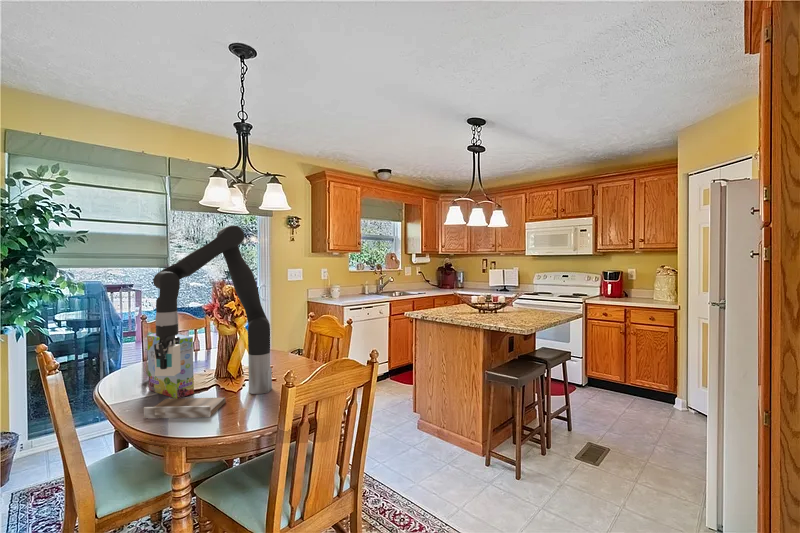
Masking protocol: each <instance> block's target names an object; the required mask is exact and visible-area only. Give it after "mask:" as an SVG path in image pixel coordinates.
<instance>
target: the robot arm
mask: <svg viewBox="0 0 800 533" xmlns="http://www.w3.org/2000/svg"><path fill="white" fill-rule="evenodd" d="M244 239H245V232H244V231H243V229H242V228H241V227H240V226H238V225H235V224H234V225H233V224H232V225H226V226H225V227H222V228H221V229H219V231H217V233H216V237H215V238H214V239H213V240H211V241H209V242H208V243H207V244H205V245H203V246H201V247H200V248H197V249H196V250H194V251H192V252H190V253H189V254H187V255H185V256H184V257H183V258H180V260H178V261H177V262H176V263H172V265H169V266H167V267H166V268H164V269H162V270H160V271H158V272H157V273H156V274H155V275H154V277H153V279H152V284H153V285H154V287H156V288H157V289H159V296H158V297H157V298H156V300H155V301H156V302H155V307H156V308H155V311H156V312H155V334H156V336H157V337H159V338H160V339H159V343H158V344H154V350H155V356H156V359H160V369H167V353H168V352H169V347H170V346H171V345H175V344H179V340H180V337H175V335H177V334H179V315H178V313H179V312H178V297H179V292H180V288H181V287H180V286H181V280H182V279H183V278H187V277H190V276H192V275H193V274H195V273H197V272H198V271H199V270H200V269H201V268H203V267H204V266H205V265H206V266H207V264H208V263H210V262H211V261H212V260H214V259H215V258H216V257H218V256H219V255H221V254H222V255H223V257H224V260H225V262H226V265H227V269H228V272H229V275H230V278H231V282H232V285H233V288H234V291H235V293H236V295H237V297H238V300H239V302H240V304H241V305H242V306H243V308H244V312H245V316H246V320H247V323H248V324H247V325H248V327H247V351H248V352H247V353H248V359H247V360H248V364H247V365H248V393H249V394H251V395H262V394H269V392H271V390H272V389H273V377H272V376H273V372H272V371H273V370H272V369H273V368H272V367H271V324H270V322H269V319H268V318H267V316H266V314H265V312H264V308H263V306H262V303H261V300H260V298H261V297H260V294H259V289H258V288H259V287H258V285H257V281H256V278H255V276H254V273H253V271H252V269H251V268H250V266H249V265H248V264H247V263H246V261H245V259H244V258H243V256H242V253H241V250H240V247H239V245H240V244H242V242H244ZM166 348H167V350H166V351H163V349H166ZM158 353H159V354H158ZM164 353H165V355H164Z"/></svg>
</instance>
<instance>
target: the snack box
mask: <svg viewBox="0 0 800 533" xmlns="http://www.w3.org/2000/svg"><path fill="white" fill-rule="evenodd" d="M175 337H180V340H179V344H180V364H181V372H180V373H178V374H176V375H175V376H155V350H154V344H158V343H159V339H160V338H159V337H157V336H156V333H152V334H147V335H146V341H147V342H146V344H147V349H148V350H147V362H148V375H149V377H148V390H149V392H154V393H156V394H160V395H162V396H166V397H170V398H186V397H187V396H191V395H195V385H194V384H195V383H194V379H195V378H194V376H195V375H194V337H193V336H189V335H185V334H179V333H178V334H177V335H175Z"/></svg>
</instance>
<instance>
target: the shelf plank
mask: <svg viewBox="0 0 800 533" xmlns="http://www.w3.org/2000/svg"><path fill="white" fill-rule="evenodd" d="M224 404H226V397H182V398H173V397H170V398H164V399H163V400H161V401H160V402H158V403H157V404H156V405H154V406H144V407H143V419H144V418H148V419H183V418H185V419H188V418H193V419H194V418H211V416H213V415H214V414H215V413H216V412H217V411H218V410H219V409H220V408H221V407H222V406H223V405H224Z"/></svg>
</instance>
